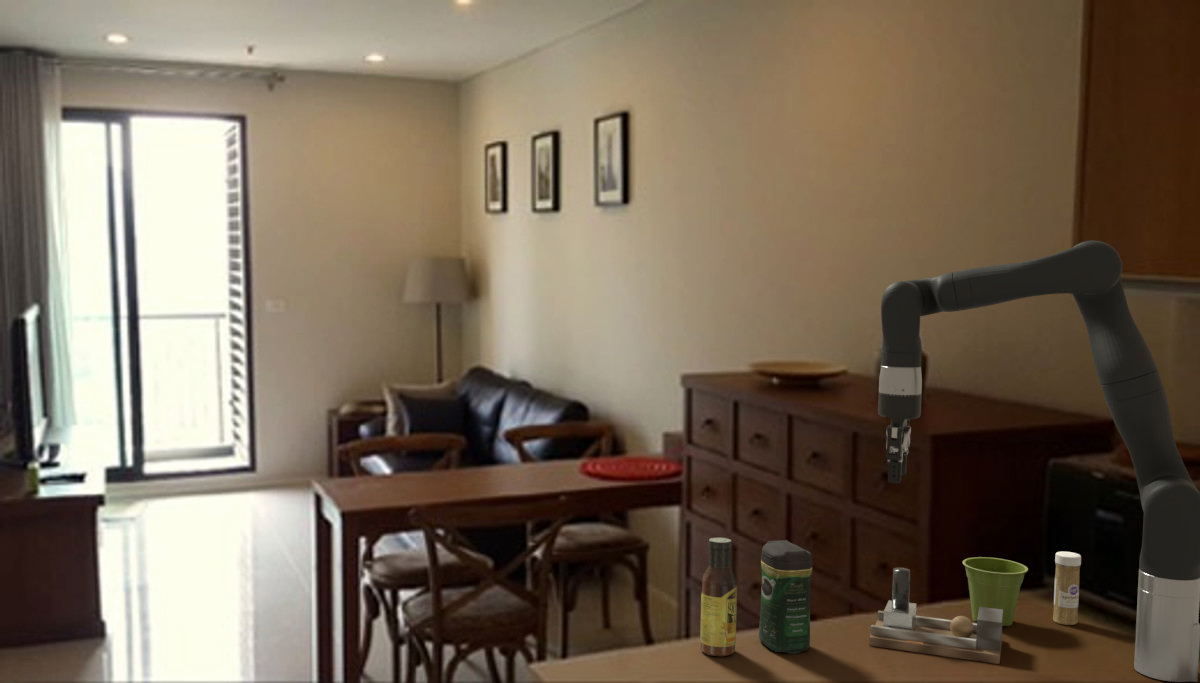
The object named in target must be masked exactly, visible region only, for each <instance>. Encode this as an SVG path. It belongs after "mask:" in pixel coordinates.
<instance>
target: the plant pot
mask: <svg viewBox="0 0 1200 683" xmlns="http://www.w3.org/2000/svg"><path fill="white" fill-rule="evenodd" d="M962 565H963V566H964V568H965V574H966V577H967V583H968V591H969V592H968V593H969V599H970V608H971V609H970V610H971V617H972V618H971V619H972V621H973V622H977V618H978V612H979V607H987V608H994V609H1002V610H1003V620H1002V627H1003V626H1005V627H1010V626H1012V624H1013V620H1014V616H1015V612H1016V608H1017V603H1018V598H1019V594H1020V590H1021V586H1022V584H1023V581H1024V578H1025V575H1026V573H1027V572H1028V571H1029V568H1028V566H1026V565H1024V564H1022V563H1019V562H1017V561H1013V560H1009V559H1004V558H998V557H990V556H989V557H986V556H984V557H982V556H978V557H975V556H974V557H967V558H965V559H963V560H962Z"/></svg>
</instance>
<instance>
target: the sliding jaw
mask: <svg viewBox="0 0 1200 683" xmlns="http://www.w3.org/2000/svg"><path fill="white" fill-rule="evenodd" d="M910 584H911V570H910V569H909V568H907V567H893V569H892V590H891V591H892V593H891V596H892V597H891V600H890V599H889V600H888V601H887V603H886V606H885V608H884V610H883V611H884V621H883V626H884V627H891V628H898V629H906V630H913V631H914V628H915V625H916V616H917V603H914V602H910V587H911V585H910Z"/></svg>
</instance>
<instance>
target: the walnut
mask: <svg viewBox="0 0 1200 683" xmlns="http://www.w3.org/2000/svg"><path fill="white" fill-rule="evenodd" d="M951 620H952V621H951V624H950V629H951V632H952V633H953V635H954V636H957V637H964V638H968V637H970V636H971V635H972V633H973V630H974V627H973V623H974V622H972V620H971V619H970V618H968V617H967V616H965V615H958V616H955V617H954V618H952V619H951Z"/></svg>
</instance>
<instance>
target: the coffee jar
mask: <svg viewBox="0 0 1200 683" xmlns="http://www.w3.org/2000/svg"><path fill="white" fill-rule="evenodd" d="M812 556H813V555H812V553H811V552H810V551H808V550H807V549H804V548H803V547H801V546H799V545H797V544H794V543H791V542H790V541H789V540H787V539H785V540H768V541H767V543H765V544H763V547H762V549H761V555H760V567H761V591H760V592H761V595H760V609H759V610H760V611H759V625H758V626H759V627H758V639H759V641H760V642H761V643H762V645H763V644H764V646H766V647H767V648H769V649H770V650H772V651H774V652H777V653H778V652H779V653H788V654H799V653H801V652H803V651H806V650H808V649H809V648H810V646H811V645H810V644H811V616H810V615H811V579H812V578H811V577H812V573H813V560H812V558H813V557H812Z"/></svg>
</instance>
